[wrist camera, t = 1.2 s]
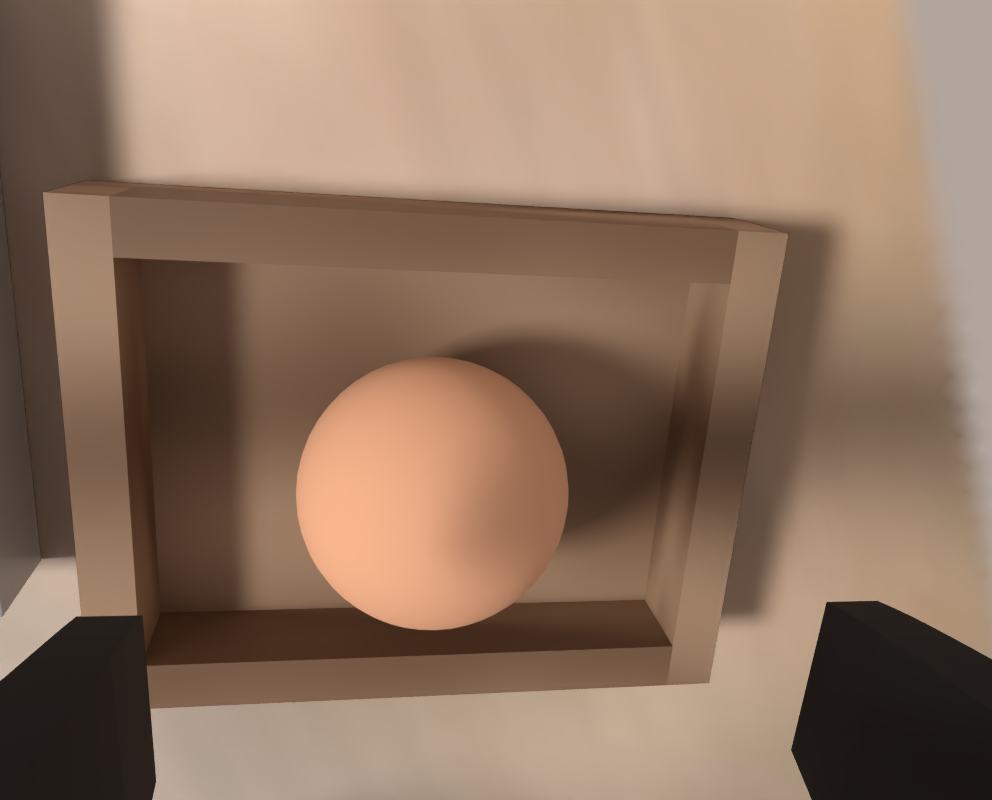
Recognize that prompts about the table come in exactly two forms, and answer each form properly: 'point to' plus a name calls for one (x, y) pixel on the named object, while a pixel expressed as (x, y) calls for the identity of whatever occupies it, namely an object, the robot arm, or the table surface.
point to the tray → (13, 450)
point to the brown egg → (432, 493)
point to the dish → (369, 346)
